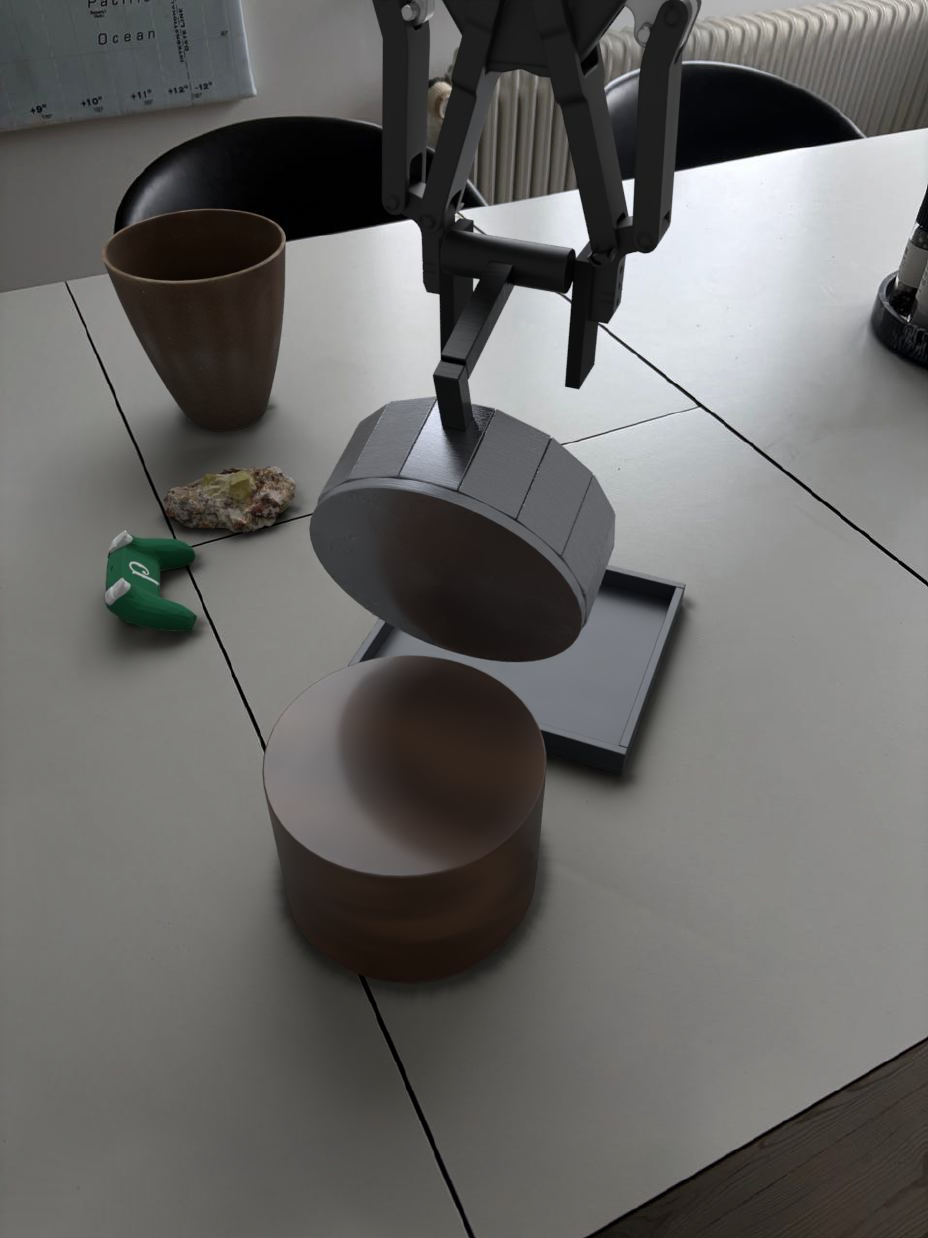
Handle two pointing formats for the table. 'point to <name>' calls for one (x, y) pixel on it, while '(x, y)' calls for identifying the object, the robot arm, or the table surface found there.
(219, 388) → the flower pot
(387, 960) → the stand
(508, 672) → the tray
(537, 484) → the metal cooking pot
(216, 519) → the mineral rock
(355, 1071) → the table surface
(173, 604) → the gaming controller
